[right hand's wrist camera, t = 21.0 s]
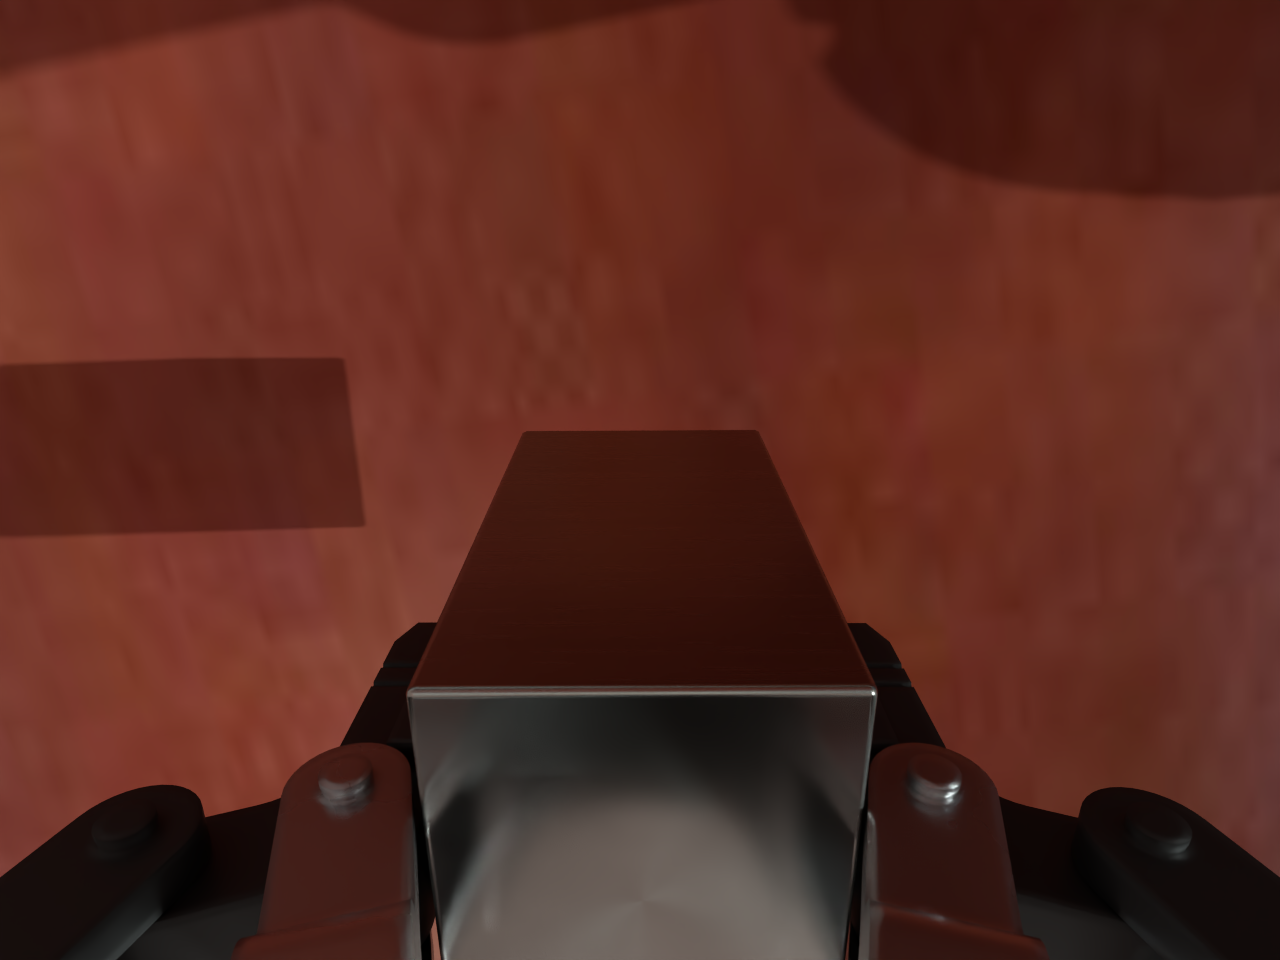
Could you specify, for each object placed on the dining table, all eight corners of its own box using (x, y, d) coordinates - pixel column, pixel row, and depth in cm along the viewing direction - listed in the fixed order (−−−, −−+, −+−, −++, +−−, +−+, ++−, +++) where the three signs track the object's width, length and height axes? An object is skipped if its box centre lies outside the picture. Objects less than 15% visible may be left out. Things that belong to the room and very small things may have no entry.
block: (759, 428, 14) (881, 688, 7) (747, 667, 16) (835, 1069, 9) (521, 429, 14) (401, 690, 7) (536, 668, 16) (452, 1070, 9)
